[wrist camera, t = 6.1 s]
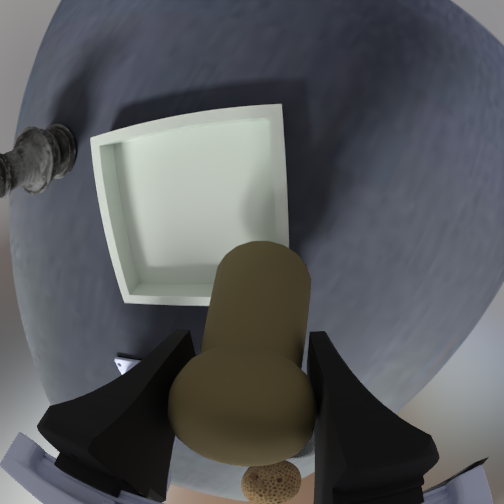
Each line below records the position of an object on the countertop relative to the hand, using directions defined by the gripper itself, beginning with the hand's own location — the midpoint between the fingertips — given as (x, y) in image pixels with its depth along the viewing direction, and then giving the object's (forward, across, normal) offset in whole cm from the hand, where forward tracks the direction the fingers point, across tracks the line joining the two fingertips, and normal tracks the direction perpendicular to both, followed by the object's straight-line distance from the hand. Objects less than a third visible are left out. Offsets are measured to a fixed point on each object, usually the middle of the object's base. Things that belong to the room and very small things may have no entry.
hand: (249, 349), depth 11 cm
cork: (+6, 0, 0) cm, 6 cm away
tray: (+10, +5, -4) cm, 12 cm away
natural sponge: (+11, -1, +34) cm, 36 cm away
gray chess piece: (+10, +18, -11) cm, 23 cm away
